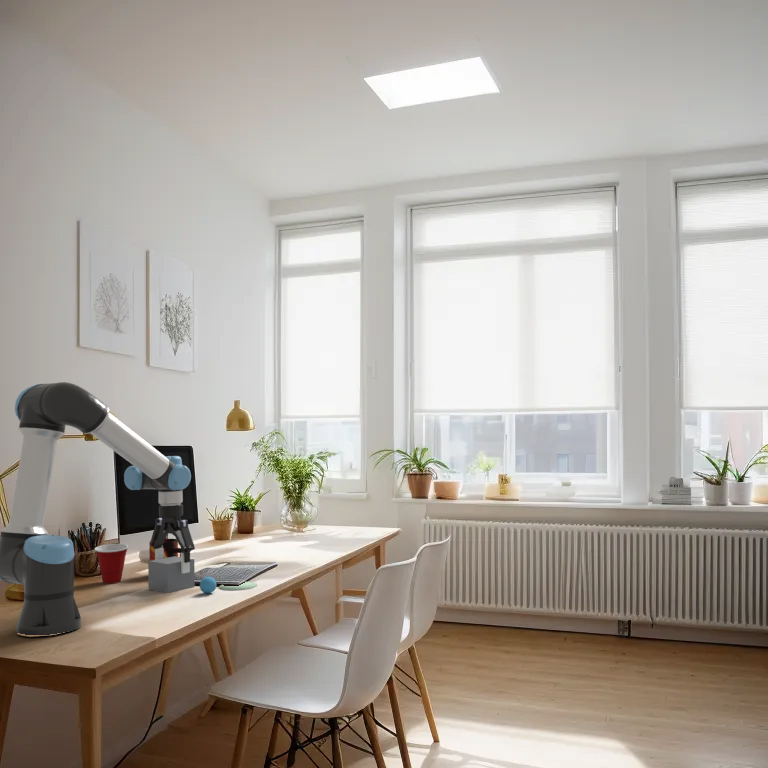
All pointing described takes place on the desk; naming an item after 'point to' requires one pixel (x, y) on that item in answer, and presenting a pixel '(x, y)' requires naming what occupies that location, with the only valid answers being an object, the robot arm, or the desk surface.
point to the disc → (241, 587)
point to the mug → (166, 549)
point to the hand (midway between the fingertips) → (172, 570)
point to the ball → (208, 585)
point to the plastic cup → (111, 561)
